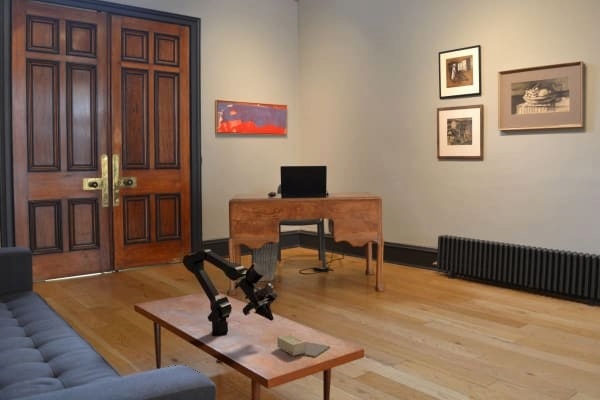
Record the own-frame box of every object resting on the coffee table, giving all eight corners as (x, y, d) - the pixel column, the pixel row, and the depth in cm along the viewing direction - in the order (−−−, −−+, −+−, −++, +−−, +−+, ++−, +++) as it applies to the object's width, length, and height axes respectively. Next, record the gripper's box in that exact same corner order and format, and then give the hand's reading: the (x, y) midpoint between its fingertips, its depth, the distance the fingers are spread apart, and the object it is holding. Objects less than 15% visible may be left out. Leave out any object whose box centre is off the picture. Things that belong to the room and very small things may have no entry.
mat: (284, 351, 216) (284, 350, 216) (300, 342, 226) (300, 340, 226) (315, 357, 208) (315, 355, 208) (330, 347, 219) (330, 346, 219)
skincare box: (277, 346, 219) (292, 356, 209) (276, 336, 219) (292, 345, 208) (291, 343, 222) (306, 352, 212) (290, 333, 222) (306, 341, 212)
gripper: (247, 283, 218) (271, 314, 213) (273, 274, 234) (296, 302, 229) (232, 300, 223) (255, 330, 218) (259, 289, 239) (280, 318, 234)
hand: (272, 320), depth 225 cm, fingers closed
